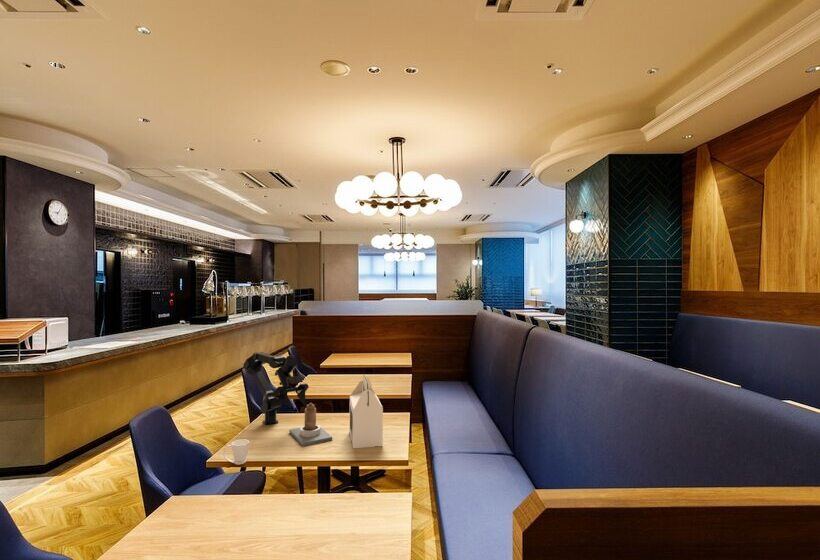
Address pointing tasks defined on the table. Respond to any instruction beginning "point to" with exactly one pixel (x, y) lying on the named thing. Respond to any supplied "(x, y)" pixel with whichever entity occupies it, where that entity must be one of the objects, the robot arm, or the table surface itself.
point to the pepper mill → (310, 417)
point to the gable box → (365, 416)
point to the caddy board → (311, 439)
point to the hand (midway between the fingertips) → (297, 405)
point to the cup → (238, 451)
